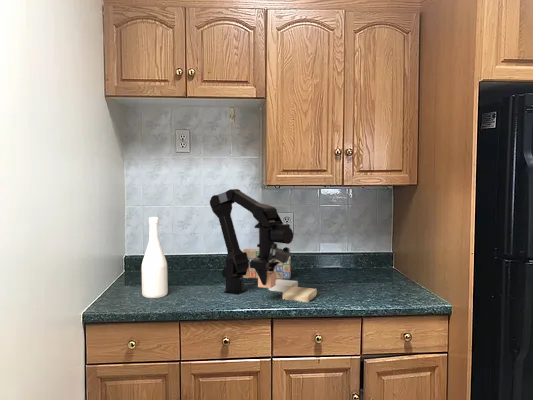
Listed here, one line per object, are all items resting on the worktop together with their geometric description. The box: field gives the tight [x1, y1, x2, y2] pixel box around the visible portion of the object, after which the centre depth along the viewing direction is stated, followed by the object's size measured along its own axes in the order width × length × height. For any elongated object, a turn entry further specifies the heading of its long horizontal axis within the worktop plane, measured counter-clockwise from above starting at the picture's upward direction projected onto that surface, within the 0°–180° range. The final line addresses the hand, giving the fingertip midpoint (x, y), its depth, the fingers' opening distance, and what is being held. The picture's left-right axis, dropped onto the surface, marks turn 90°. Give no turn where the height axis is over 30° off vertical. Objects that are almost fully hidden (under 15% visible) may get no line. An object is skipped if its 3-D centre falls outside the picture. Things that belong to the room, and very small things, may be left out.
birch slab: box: [282, 286, 318, 303], centre depth 172 cm, size 10×10×3 cm
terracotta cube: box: [257, 271, 277, 289], centre depth 168 cm, size 5×5×5 cm
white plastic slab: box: [268, 279, 299, 293], centre depth 184 cm, size 9×9×3 cm
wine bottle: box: [141, 216, 168, 299], centre depth 174 cm, size 10×10×30 cm
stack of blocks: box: [241, 248, 292, 280], centre depth 205 cm, size 21×6×12 cm, turn 82°
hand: (266, 283), depth 168 cm, fingers closed on terracotta cube, 5 cm apart
